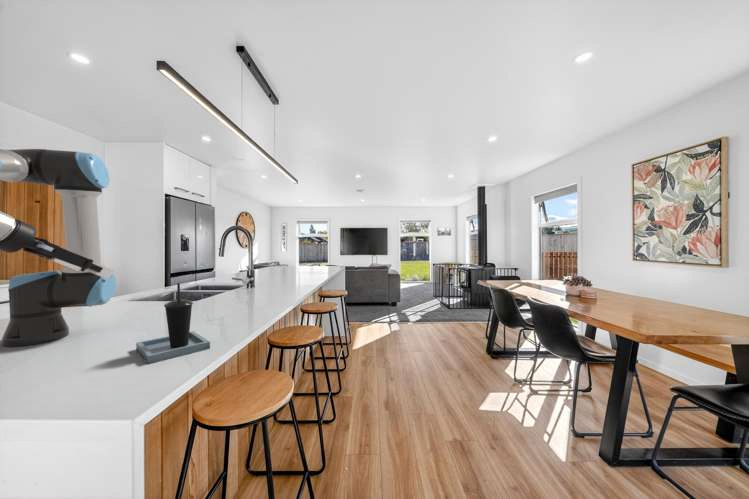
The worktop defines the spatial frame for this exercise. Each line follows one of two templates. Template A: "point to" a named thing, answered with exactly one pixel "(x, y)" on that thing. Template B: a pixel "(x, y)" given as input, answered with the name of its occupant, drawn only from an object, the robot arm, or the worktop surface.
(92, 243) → the robot arm
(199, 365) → the worktop surface
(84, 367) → the worktop surface
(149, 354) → the slate tray
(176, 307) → the drinking cup
